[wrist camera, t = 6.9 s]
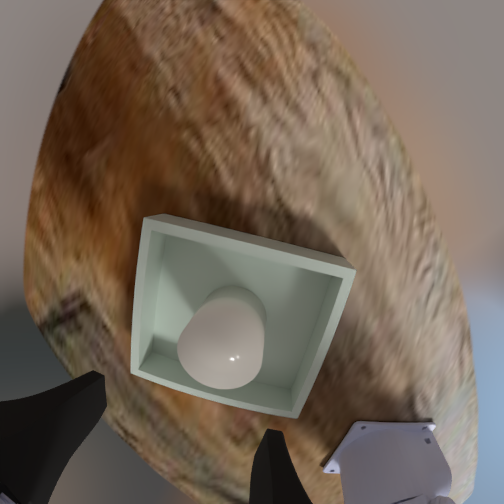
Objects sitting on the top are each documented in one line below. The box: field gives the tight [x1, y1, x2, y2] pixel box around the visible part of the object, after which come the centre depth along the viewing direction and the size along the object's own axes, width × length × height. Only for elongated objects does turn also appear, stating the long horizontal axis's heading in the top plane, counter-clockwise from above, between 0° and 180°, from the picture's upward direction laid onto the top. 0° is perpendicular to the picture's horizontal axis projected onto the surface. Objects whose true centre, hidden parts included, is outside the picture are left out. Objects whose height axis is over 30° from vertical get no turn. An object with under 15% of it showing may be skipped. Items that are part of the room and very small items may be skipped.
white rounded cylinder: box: [177, 286, 267, 389], centre depth 16 cm, size 4×4×5 cm
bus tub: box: [131, 214, 357, 419], centre depth 18 cm, size 12×11×3 cm
